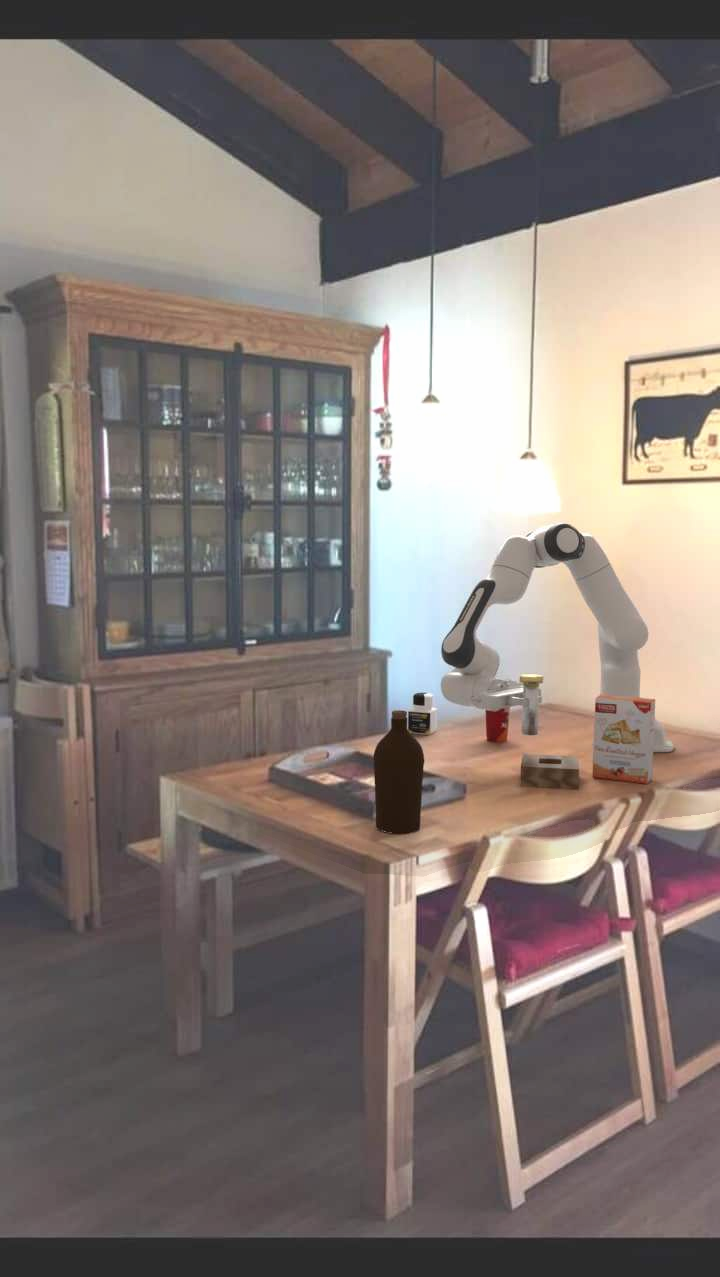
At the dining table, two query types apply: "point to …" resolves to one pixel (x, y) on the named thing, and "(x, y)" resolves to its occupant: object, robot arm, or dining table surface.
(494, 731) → the coffee cup
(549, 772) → the block
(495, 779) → the dining table surface
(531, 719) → the pin
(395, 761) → the olive oil
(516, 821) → the dining table surface
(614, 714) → the cracker box
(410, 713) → the medicine bottle
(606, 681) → the robot arm
